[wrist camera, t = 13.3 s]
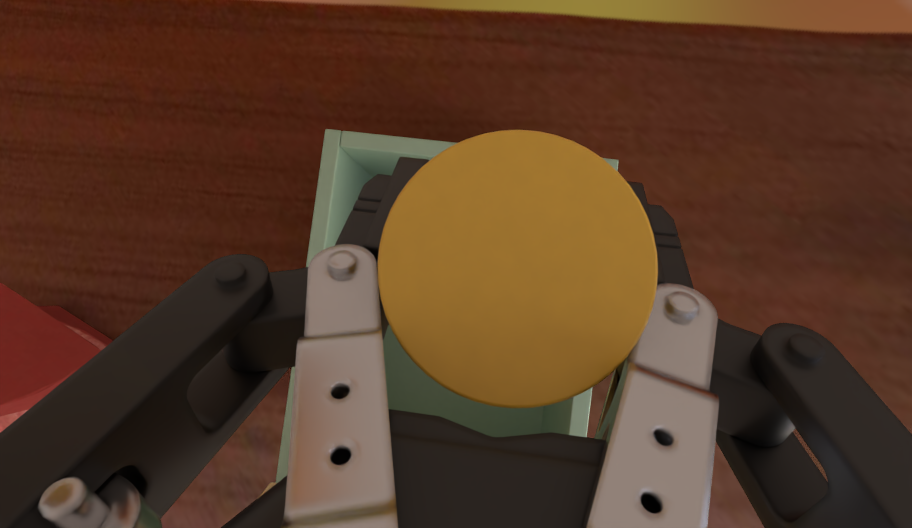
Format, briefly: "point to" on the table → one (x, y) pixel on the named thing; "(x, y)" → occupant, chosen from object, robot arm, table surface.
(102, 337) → the anatomical model
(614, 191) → the round shape
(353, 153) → the green open box
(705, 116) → the table surface
